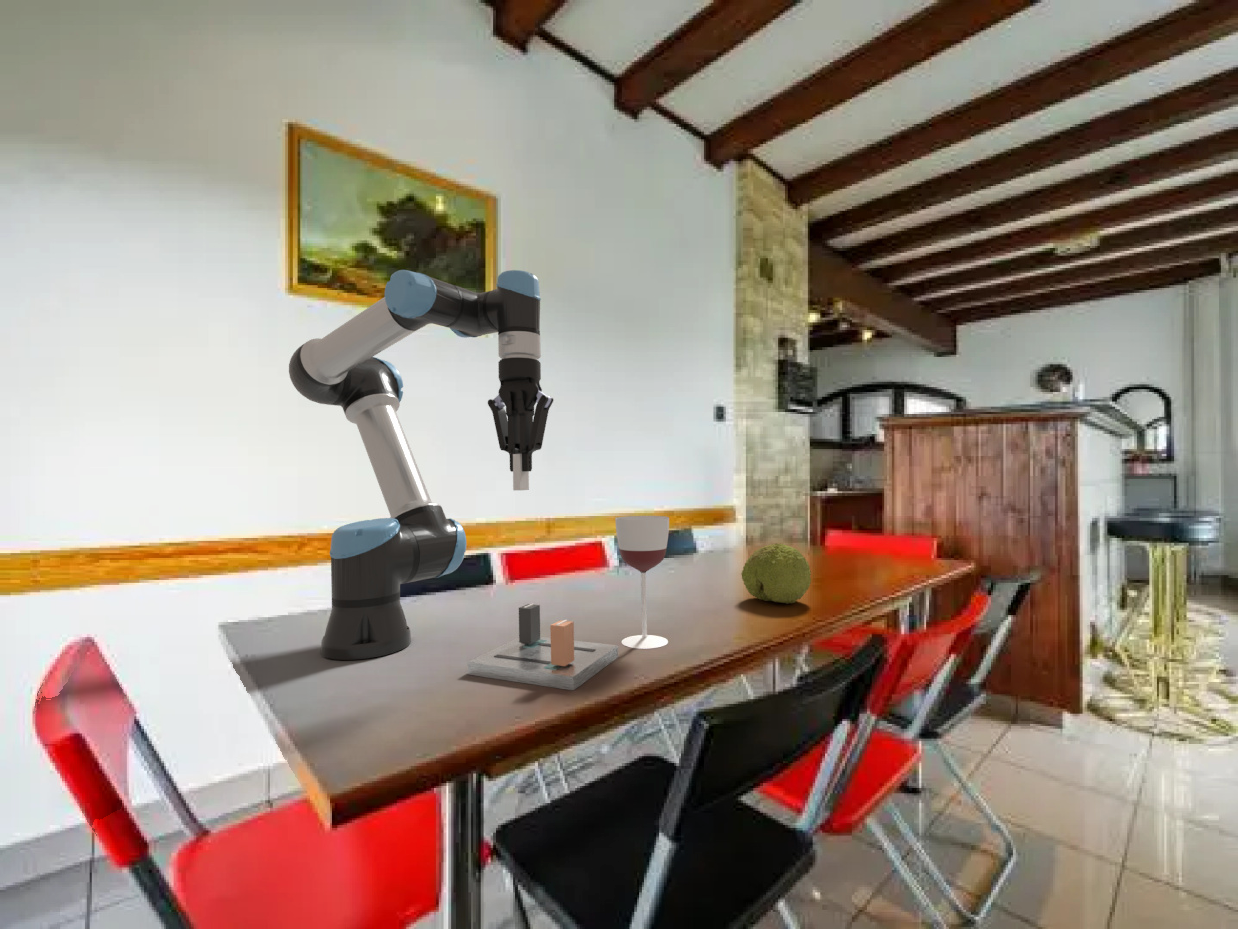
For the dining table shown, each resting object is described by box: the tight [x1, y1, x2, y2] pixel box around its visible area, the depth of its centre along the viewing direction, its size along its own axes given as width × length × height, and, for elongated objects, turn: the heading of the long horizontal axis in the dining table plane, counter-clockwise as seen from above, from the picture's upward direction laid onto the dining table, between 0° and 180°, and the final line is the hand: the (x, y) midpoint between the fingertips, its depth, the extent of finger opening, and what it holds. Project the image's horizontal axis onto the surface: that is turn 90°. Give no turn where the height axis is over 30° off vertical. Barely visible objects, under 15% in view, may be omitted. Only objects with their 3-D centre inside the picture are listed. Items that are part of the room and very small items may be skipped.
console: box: [466, 636, 619, 691], centre depth 95 cm, size 19×16×2 cm
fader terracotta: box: [550, 619, 575, 666], centre depth 89 cm, size 2×3×6 cm
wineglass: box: [615, 515, 670, 650], centre depth 107 cm, size 9×10×23 cm
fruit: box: [740, 543, 812, 605], centre depth 137 cm, size 16×14×15 cm
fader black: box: [518, 602, 541, 644], centre depth 101 cm, size 2×3×6 cm
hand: (521, 490), depth 104 cm, fingers closed
